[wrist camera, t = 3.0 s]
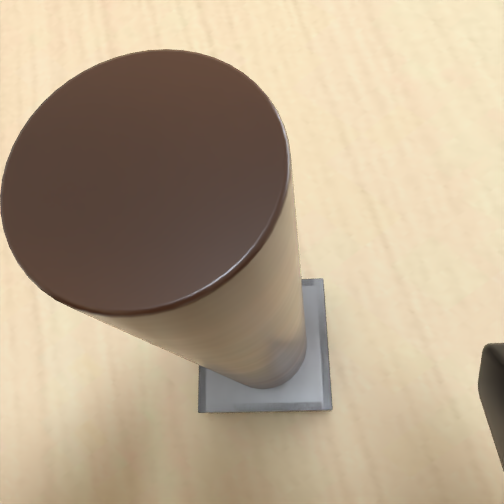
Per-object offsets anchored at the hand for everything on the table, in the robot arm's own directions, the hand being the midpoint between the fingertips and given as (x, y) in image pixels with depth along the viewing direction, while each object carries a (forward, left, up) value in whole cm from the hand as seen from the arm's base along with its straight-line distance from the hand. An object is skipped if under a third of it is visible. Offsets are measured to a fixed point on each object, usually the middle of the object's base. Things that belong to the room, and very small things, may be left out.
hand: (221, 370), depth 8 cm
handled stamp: (+1, -1, -9) cm, 9 cm away
